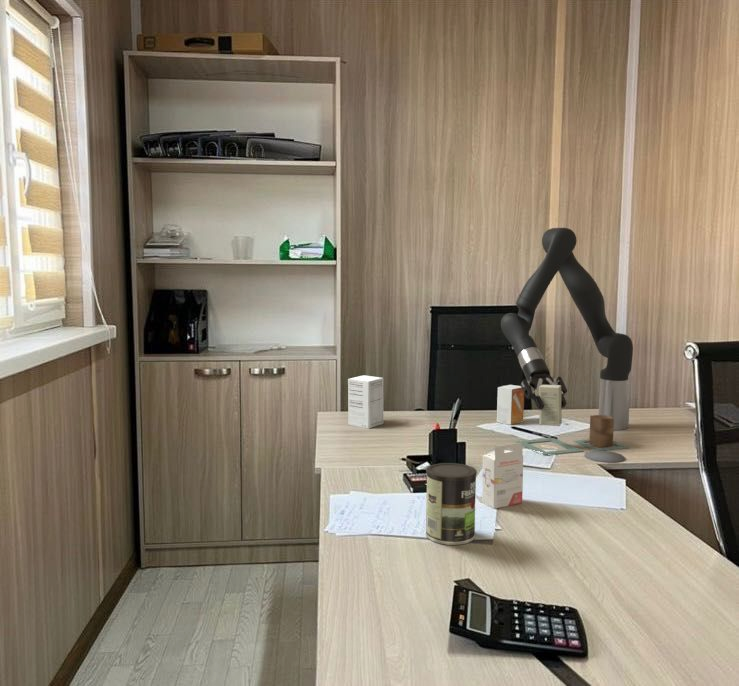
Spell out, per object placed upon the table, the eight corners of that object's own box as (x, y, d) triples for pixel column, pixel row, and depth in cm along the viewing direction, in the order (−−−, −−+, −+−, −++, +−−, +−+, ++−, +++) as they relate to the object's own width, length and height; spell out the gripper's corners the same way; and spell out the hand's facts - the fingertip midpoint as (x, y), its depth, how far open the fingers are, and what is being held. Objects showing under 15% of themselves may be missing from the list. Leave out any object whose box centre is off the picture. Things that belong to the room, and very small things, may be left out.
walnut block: (602, 442, 215) (603, 414, 214) (612, 446, 210) (614, 418, 209) (589, 443, 213) (590, 415, 212) (599, 447, 208) (600, 419, 207)
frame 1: (553, 439, 219) (553, 437, 219) (583, 451, 204) (583, 450, 204) (515, 442, 214) (515, 441, 214) (543, 455, 199) (543, 454, 199)
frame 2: (604, 439, 219) (604, 437, 219) (629, 448, 208) (629, 447, 208) (573, 442, 215) (573, 440, 215) (596, 451, 204) (596, 450, 204)
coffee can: (482, 532, 141) (484, 467, 140) (462, 549, 133) (464, 480, 131) (438, 522, 147) (439, 459, 145) (416, 538, 138) (417, 471, 136)
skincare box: (561, 423, 209) (562, 385, 208) (559, 426, 205) (560, 387, 204) (541, 421, 212) (541, 383, 210) (538, 425, 208) (538, 386, 206)
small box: (510, 425, 238) (512, 389, 236) (496, 422, 242) (497, 386, 241) (523, 421, 243) (524, 386, 242) (509, 419, 248) (510, 384, 247)
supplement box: (363, 420, 245) (363, 374, 243) (384, 423, 240) (384, 377, 238) (347, 425, 237) (347, 378, 235) (368, 429, 232) (368, 380, 230)
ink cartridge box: (509, 497, 163) (511, 437, 162) (522, 503, 159) (524, 442, 157) (480, 502, 159) (482, 441, 158) (493, 509, 155) (495, 447, 153)
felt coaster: (607, 451, 205) (607, 449, 204) (632, 461, 194) (632, 458, 194) (576, 454, 201) (576, 452, 201) (600, 464, 191) (600, 462, 191)
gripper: (517, 359, 211) (537, 402, 201) (557, 356, 215) (578, 398, 206) (509, 373, 217) (527, 416, 207) (547, 370, 221) (568, 412, 211)
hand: (553, 407), depth 206 cm, fingers closed on skincare box, 7 cm apart
